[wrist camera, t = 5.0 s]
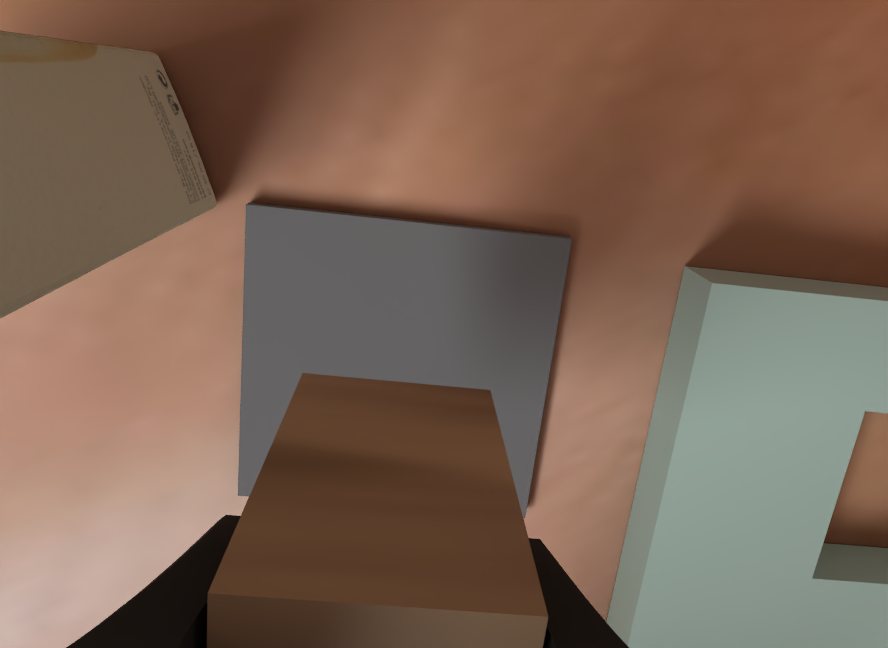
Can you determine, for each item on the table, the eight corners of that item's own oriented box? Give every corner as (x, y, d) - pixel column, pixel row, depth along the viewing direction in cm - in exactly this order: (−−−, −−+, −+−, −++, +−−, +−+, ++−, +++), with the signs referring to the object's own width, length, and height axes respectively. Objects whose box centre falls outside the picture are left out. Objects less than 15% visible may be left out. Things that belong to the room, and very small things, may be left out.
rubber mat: (523, 511, 23) (524, 518, 22) (240, 488, 22) (237, 495, 22) (569, 236, 20) (572, 239, 20) (249, 202, 19) (246, 204, 19)
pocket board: (958, 724, 26) (1001, 773, 24) (589, 701, 25) (603, 750, 23) (1132, 313, 21) (1201, 333, 19) (684, 266, 20) (712, 282, 18)
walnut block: (467, 549, 16) (502, 860, 10) (293, 536, 16) (203, 847, 9) (490, 390, 15) (548, 617, 8) (302, 372, 15) (207, 593, 8)
